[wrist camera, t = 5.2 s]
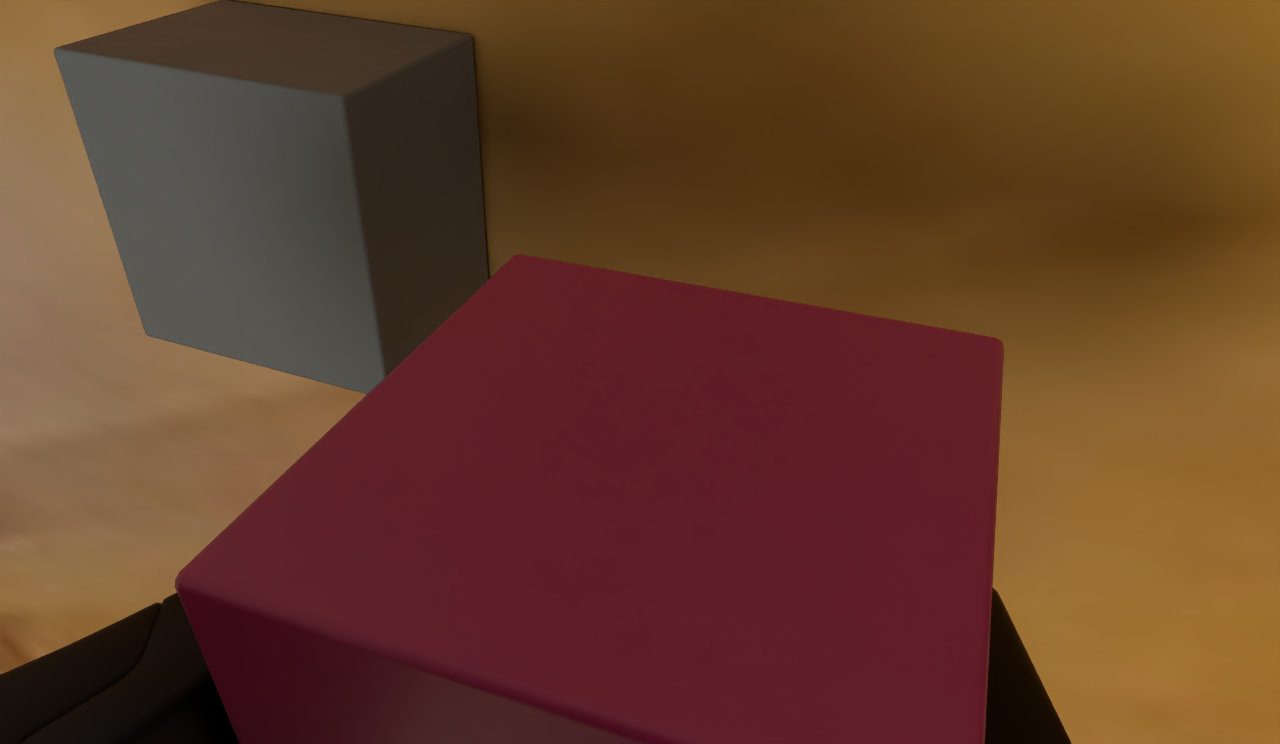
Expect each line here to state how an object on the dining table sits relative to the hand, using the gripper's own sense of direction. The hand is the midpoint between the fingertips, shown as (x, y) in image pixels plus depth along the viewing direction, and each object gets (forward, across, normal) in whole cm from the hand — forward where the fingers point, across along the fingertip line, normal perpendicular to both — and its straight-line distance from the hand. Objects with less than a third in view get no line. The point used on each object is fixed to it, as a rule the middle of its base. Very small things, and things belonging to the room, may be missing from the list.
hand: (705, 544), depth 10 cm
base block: (+12, +13, +2) cm, 18 cm away
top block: (+1, 0, 0) cm, 1 cm away
